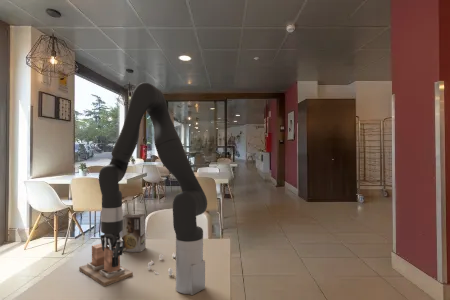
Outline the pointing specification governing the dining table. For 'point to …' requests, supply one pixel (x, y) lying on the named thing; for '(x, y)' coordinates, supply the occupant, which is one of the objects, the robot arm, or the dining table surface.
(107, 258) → the pin
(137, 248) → the coffee box
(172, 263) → the dining table surface
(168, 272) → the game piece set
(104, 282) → the board
